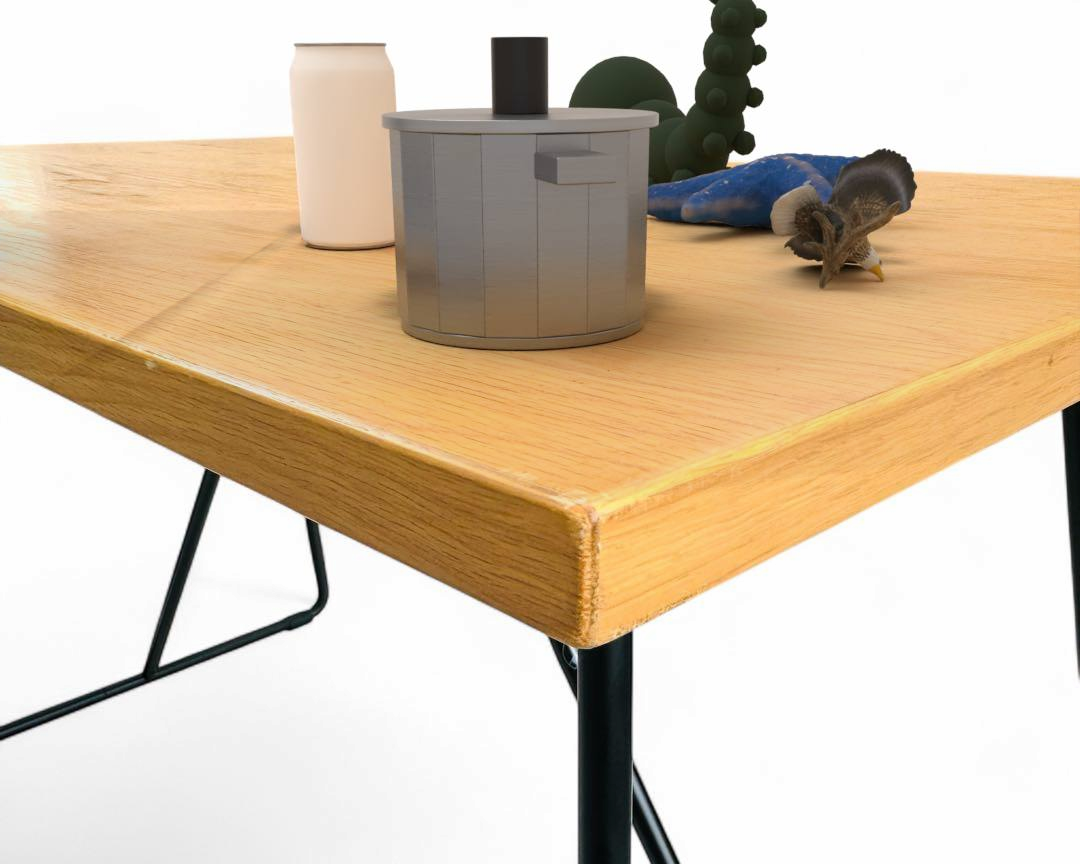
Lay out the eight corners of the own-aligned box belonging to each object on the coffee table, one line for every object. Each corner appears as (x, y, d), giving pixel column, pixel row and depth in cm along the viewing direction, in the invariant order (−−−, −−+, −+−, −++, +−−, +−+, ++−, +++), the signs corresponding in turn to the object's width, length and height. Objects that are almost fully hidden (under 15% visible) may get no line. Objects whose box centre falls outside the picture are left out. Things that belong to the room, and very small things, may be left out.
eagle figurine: (940, 272, 60) (946, 216, 67) (869, 148, 58) (883, 104, 65) (805, 342, 64) (824, 282, 71) (734, 228, 62) (762, 179, 69)
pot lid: (418, 153, 45) (413, 35, 44) (359, 135, 56) (353, 39, 54) (705, 145, 49) (710, 34, 47) (599, 129, 59) (600, 38, 58)
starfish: (694, 204, 97) (696, 140, 95) (925, 220, 88) (933, 148, 86) (570, 232, 83) (570, 156, 81) (831, 254, 73) (838, 168, 71)
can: (338, 253, 74) (324, 42, 70) (282, 242, 79) (266, 43, 74) (422, 243, 78) (414, 42, 74) (364, 233, 83) (354, 43, 78)
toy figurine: (776, 228, 96) (619, 174, 116) (808, -35, 88) (633, -46, 108) (676, 236, 92) (531, 178, 112) (699, -39, 84) (539, -49, 104)
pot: (450, 374, 46) (443, 140, 43) (367, 298, 61) (357, 119, 57) (712, 352, 49) (722, 133, 46) (574, 285, 64) (575, 114, 61)
